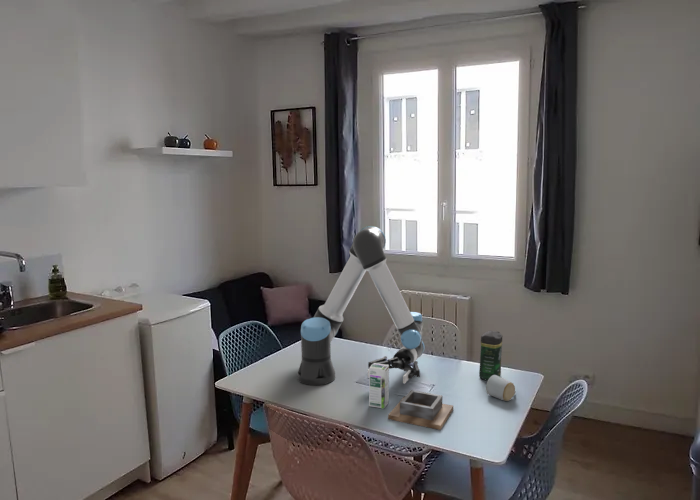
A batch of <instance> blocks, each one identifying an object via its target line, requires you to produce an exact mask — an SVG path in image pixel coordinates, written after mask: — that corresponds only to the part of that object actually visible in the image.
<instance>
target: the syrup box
mask: <svg viewBox="0 0 700 500" xmlns="http://www.w3.org/2000/svg"><path fill="white" fill-rule="evenodd" d="M389 376H390V369H389V365H388V364H387V365H386V364H379V363H373V364H372V365H371V366H370V368H369V377H368V385H369V386H368V388H369V389H368V390H369V391H368V392H369V393H368V395H369V398H368V406H369V408H370V407H373V408H378V409H384V410H385V408H386V406H387V405H388V404H389V402H390V401H389V397H390V396H389V392H390V377H389Z"/></svg>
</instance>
